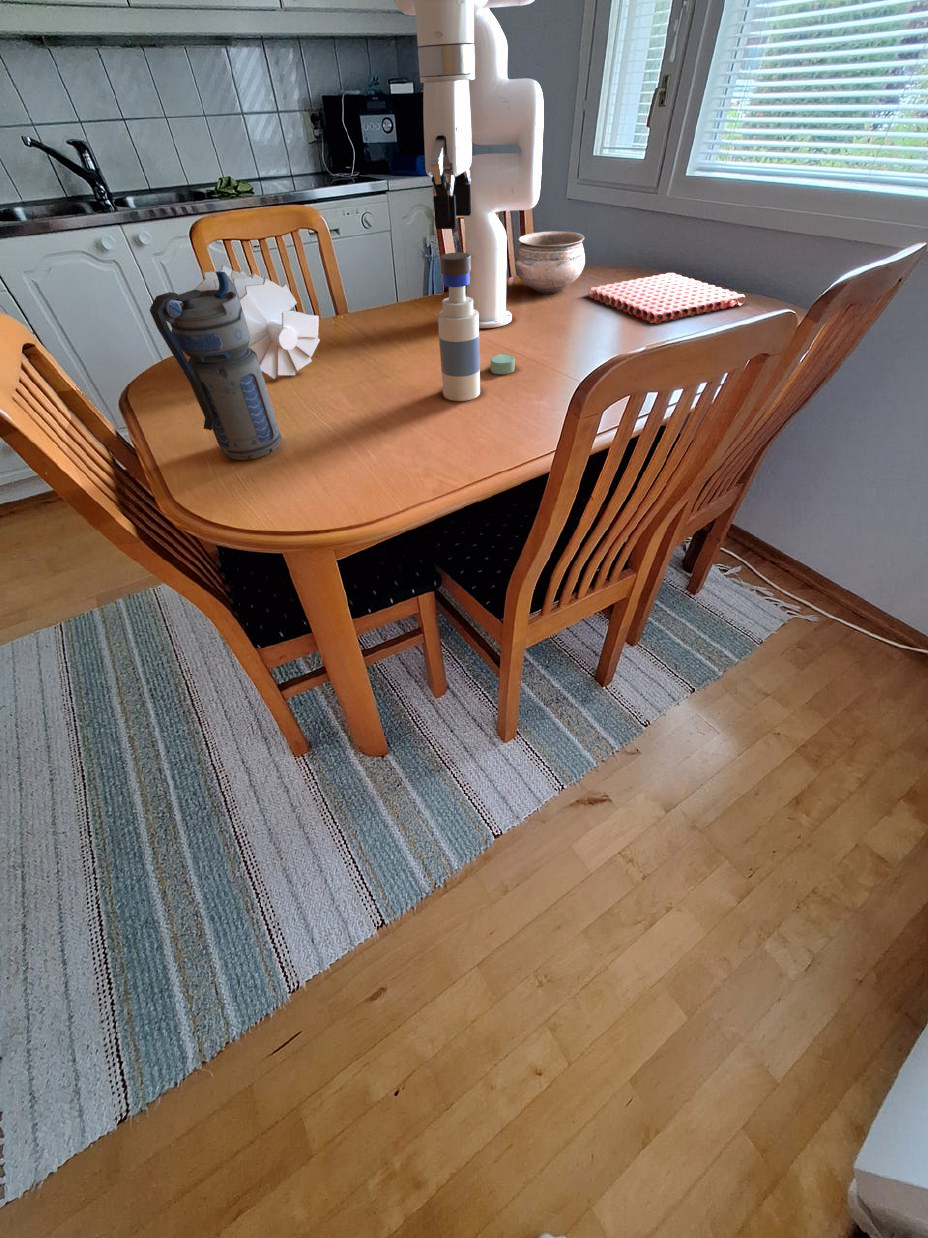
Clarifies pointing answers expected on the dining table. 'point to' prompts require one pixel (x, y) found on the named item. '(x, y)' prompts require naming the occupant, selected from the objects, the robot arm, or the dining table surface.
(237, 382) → the beverage bottle
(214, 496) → the dining table surface
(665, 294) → the pink perforated square mat
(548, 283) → the cooking pot
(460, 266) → the brown disc
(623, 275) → the dining table surface
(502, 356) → the sage cylinder
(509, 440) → the dining table surface
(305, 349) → the spiral staircase
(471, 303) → the cream bottle
